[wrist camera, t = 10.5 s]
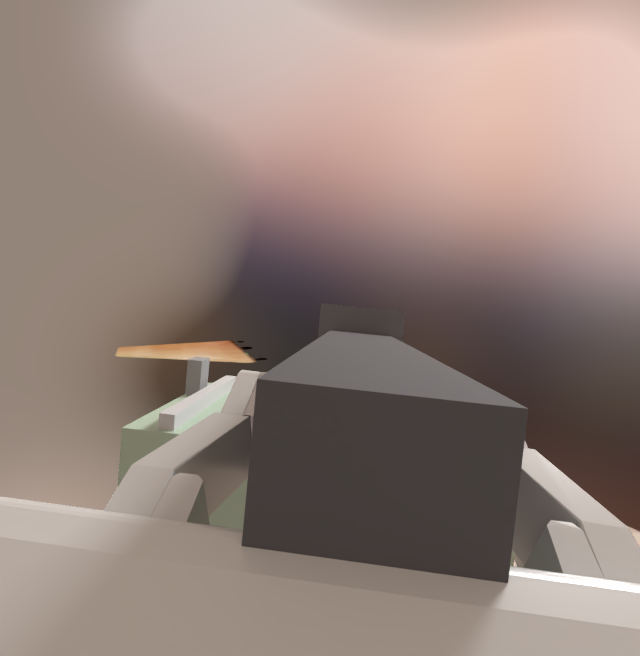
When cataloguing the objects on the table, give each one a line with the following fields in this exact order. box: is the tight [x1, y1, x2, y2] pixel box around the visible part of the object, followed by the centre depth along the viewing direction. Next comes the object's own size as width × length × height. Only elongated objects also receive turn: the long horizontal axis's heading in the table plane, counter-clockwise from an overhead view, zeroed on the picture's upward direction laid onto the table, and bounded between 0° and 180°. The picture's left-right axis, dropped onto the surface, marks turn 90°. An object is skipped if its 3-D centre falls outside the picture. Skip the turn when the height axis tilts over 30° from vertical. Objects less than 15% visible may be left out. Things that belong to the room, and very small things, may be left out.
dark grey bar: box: [242, 304, 528, 583], centre depth 18 cm, size 25×5×5 cm, turn 176°
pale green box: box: [118, 357, 515, 566], centre depth 34 cm, size 16×24×29 cm, turn 87°
